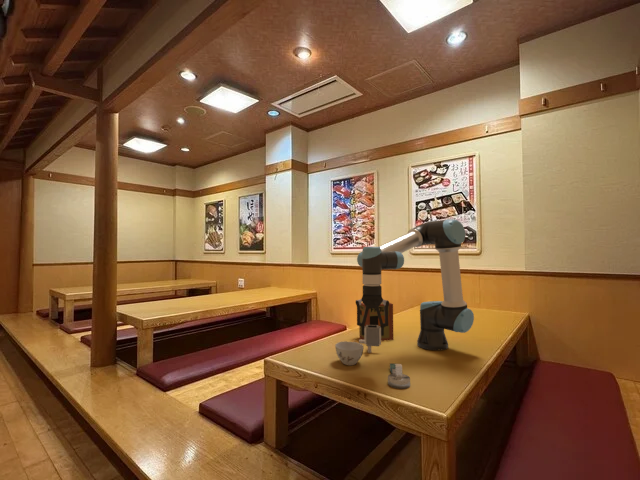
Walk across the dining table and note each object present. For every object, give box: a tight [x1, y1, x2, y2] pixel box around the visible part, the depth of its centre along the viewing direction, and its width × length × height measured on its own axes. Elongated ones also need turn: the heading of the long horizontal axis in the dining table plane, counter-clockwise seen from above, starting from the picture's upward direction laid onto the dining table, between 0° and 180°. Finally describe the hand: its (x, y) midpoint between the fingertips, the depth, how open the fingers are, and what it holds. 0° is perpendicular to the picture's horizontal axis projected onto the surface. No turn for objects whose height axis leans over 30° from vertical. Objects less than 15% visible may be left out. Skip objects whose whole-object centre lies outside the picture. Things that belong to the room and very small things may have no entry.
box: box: [358, 302, 394, 342], centre depth 181 cm, size 17×9×20 cm, turn 104°
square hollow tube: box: [365, 325, 380, 347], centre depth 127 cm, size 5×5×7 cm
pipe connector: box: [358, 339, 372, 354], centre depth 156 cm, size 10×10×10 cm
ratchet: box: [387, 363, 411, 390], centre depth 124 cm, size 8×20×7 cm, turn 174°
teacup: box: [334, 341, 364, 366], centre depth 142 cm, size 15×12×8 cm
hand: (372, 343), depth 127 cm, fingers closed on square hollow tube, 5 cm apart
